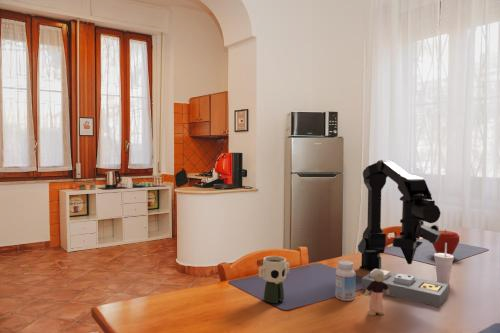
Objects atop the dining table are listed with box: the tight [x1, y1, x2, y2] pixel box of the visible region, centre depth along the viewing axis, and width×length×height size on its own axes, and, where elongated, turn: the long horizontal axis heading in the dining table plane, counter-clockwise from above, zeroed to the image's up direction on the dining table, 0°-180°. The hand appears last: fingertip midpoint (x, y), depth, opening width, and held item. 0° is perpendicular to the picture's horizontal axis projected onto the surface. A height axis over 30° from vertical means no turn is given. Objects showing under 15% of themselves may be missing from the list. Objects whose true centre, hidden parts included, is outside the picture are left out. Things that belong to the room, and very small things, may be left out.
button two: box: [394, 273, 416, 286], centre depth 129 cm, size 5×5×3 cm
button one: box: [369, 268, 391, 280], centre depth 134 cm, size 5×5×3 cm
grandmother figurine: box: [363, 269, 390, 316], centre depth 112 cm, size 8×4×13 cm, turn 114°
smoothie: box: [433, 243, 455, 284], centre depth 138 cm, size 6×6×14 cm
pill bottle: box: [335, 260, 356, 302], centre depth 123 cm, size 6×6×11 cm
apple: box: [431, 229, 460, 255], centre depth 172 cm, size 11×11×12 cm
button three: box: [420, 283, 441, 292], centre depth 124 cm, size 5×5×3 cm
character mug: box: [258, 255, 290, 304], centre depth 120 cm, size 11×7×13 cm, turn 118°
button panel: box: [361, 272, 449, 307], centre depth 129 cm, size 24×12×4 cm, turn 52°
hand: (409, 263), depth 128 cm, fingers closed
